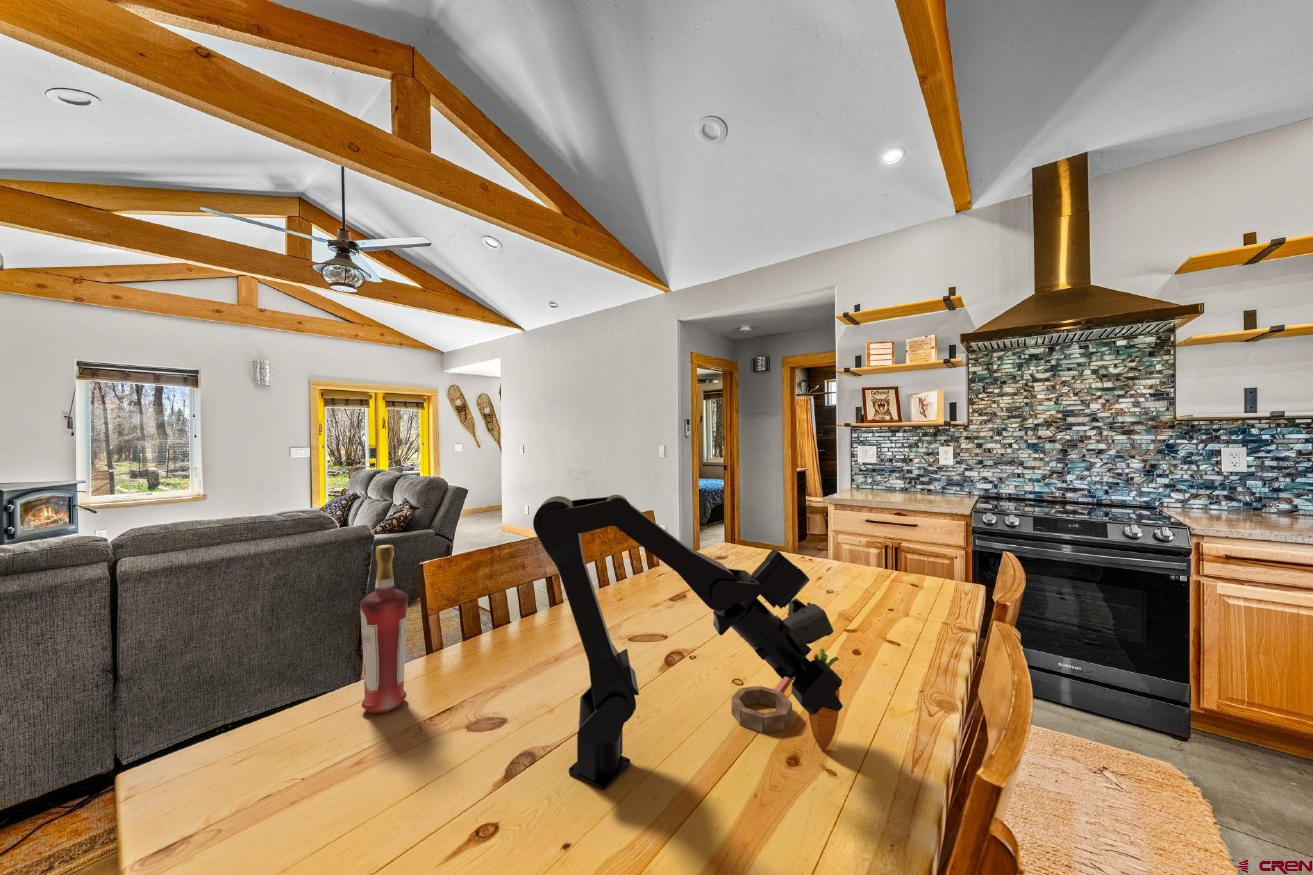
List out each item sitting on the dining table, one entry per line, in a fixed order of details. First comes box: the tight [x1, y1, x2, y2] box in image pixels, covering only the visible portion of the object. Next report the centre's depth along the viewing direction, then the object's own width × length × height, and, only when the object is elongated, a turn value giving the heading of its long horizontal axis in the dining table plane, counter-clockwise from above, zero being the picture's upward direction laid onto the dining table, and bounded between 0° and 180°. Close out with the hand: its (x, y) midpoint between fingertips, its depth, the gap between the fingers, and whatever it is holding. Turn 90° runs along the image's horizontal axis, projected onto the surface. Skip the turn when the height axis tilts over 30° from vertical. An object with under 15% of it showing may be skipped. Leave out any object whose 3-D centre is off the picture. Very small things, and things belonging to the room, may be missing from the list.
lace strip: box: [774, 677, 791, 692], centre depth 94 cm, size 16×3×1 cm, turn 149°
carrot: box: [808, 648, 841, 751], centre depth 74 cm, size 5×5×15 cm
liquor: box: [359, 544, 409, 715], centre depth 85 cm, size 7×7×28 cm
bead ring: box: [730, 685, 793, 734], centre depth 83 cm, size 9×9×2 cm
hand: (831, 698), depth 74 cm, fingers closed on carrot, 5 cm apart
